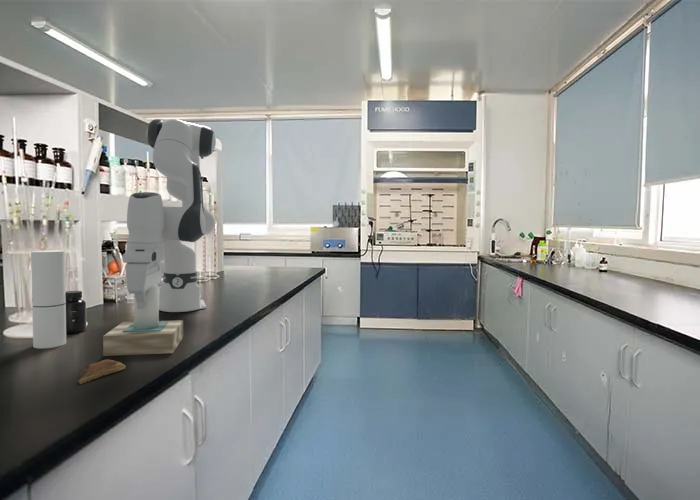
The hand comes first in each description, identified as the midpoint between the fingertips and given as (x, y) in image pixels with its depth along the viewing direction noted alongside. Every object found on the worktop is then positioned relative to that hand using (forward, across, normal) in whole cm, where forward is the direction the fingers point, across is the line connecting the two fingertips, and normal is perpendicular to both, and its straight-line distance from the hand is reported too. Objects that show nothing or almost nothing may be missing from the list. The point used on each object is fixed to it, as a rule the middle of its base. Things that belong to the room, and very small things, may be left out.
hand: (146, 305), depth 110 cm
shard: (+12, +20, -4) cm, 24 cm away
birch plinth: (+11, 0, 0) cm, 11 cm away
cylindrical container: (+11, -5, -25) cm, 28 cm away
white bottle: (+6, 0, 0) cm, 6 cm away
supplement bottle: (+11, -19, -25) cm, 33 cm away
